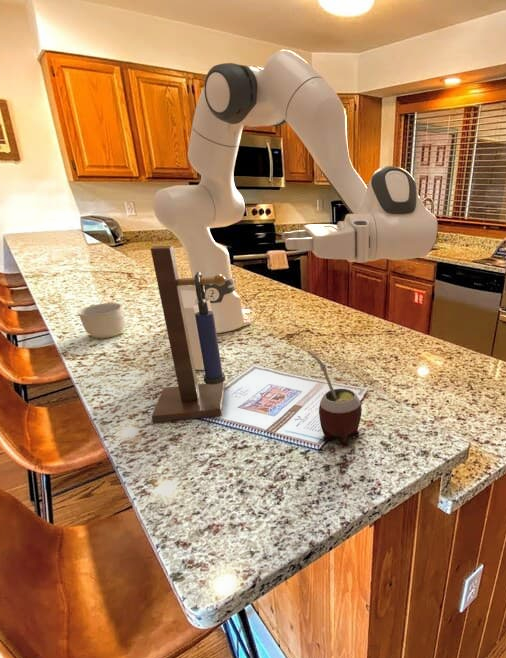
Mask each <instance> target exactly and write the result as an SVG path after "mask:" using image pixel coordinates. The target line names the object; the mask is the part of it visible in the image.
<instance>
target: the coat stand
mask: <svg viewBox="0 0 506 658" xmlns="http://www.w3.org/2000/svg"><path fill="white" fill-rule="evenodd" d="M150 252H151V253H150V254H151V258H152V263H153V269H154V272H155V278H156V282H157V288H158V293H159V298H160V303H161V308H162V313H163V318H164V322H165V323H164V324H165V327H166V333H167V338H168V342H169V346H170V351H171V356H172V361H173V367H174V371H175V377H176V382H177V386H176V385H175V386H167V387H163V388H162V391H161V393H160V396H159V397H158V400H157V402H156V405H155V407H154V410H153V412H152V415H151V419H152V420H151V421H152V423H153V424H159V423H169V422H178V421H187V420H195V419H196V420H197V419H203V418H205V419H206V418H213V417H221V416H222V415H223V407H224V401H225V394H226V393H225V392H226V384H225V381H224V382H222V383H219V384H213V385H211V384H206V383H198V378H197V370H195V366H194V360H193V355H192V349H191V344H190V338H189V333H188V327H187V322H186V316H185V311H184V305H183V300H182V294H181V289H180V286H184V285H195V278H192V277H187V278H180V277H179V273H178V267H177V261H176V256H175V252H174V246H173V245H154V246H152V247H151V248H150ZM224 283H225V277H224V276H223V275H220V274H218V275H216V276H215V277H203V278H200V285H203V284H216V285H218V286H222V285H224Z"/></svg>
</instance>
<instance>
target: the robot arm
mask: <svg viewBox="0 0 506 658" xmlns="http://www.w3.org/2000/svg"><path fill="white" fill-rule="evenodd" d="M286 124H287V125H288V126H289V127H290V128H291V129H292V130H293V132H294V133H295V134H296V135H297V137H298V138H299V140H300V141H301V142H302V144H303V145H304V146H305V148H306V150H307V151H308V152H309V154H310V155H311V157H312V159H313V161H314V162H315V164H316V166H317V167H318V169H319V171H320V172H321V174H322V175H323V177H324V178H325V180H326V182H327V184H328V185H329V187H330V188H331V189H332V190H333V191H334V193H335V194H336V195H337V196H338V198H339V200H340V201H341V203H342V204H343V205H344V207H345V208H346V209H347V211H348V212H349V213H347V214H346V215H345V217H344V220H339V221H337V223H336V224H329V223H327V224H325V223H323V224H320V223H319V224H318V223H317V224H316V223H315V224H311V223H310V224H305V225H303V227H302V229H298V230H293V231H283V232H282V234H281V238H282V239H281V241H282V242H283V243H285V248H286V250H289V251H293V250H295V251H304V252H312V253H313V255H314V256H315V257H316V258H319V259H327V260H346V261H347V262H348V263H360V264H361V263H368V262H375V261H379V260H382V259H384V260H389V261H404V260H414V259H419V258H423V257H425V256H428V255H429V254H430V253H431V251H432V250H433V248H434V247H435V244H436V242H437V238H438V234H439V222H438V218H437V217H436V216H435V214H434V213H432V212H431V211H429V210H428V209H427V207H426V206H425V205H424V203H423V201H422V199H421V197H420V195H419V192H418V190H417V184H416V182H415V179H414V177H413V176H412V175H411V174H410V172H409V171H407V170H406V169H404V168H402V167H399V166H395V165H388V166H387V165H386V166H383V167H379V168H378V169H377V170H375V172H374V173H373V174H372V176H371V178H370V180H369V182H368V185H366V184H365V182H364V181H363V179H362V178H361V176H360V175H359V173H358V172H357V171H356V169H355V168H354V165H353V164H352V163H353V162H351V157H350V153H349V145H348V130H347V128H348V127H347V126H348V125H347V124H348V123H347V114H346V109H345V107H344V104H343V103H342V100H341V99H340V97H339V95H338V93H337V92H336V91H335V90H334V88H333V87H332V85H330V84H329V82H328V81H327V80H326V79H325V78H324V77H323V76H322V75H321V74H320V72H319V71H317V70H316V69H315V68H314V67H313V66H312V65H311V64H310V63H309V62H308V61H306V60H305V59H304V58H302V57H301V56H299V55H298V54H296V53H295V52H293V51H291V50H288V49H281V50H278V51H276V52H274V53H273V54H272V55H270V56H269V58H268V59H267V60H266V62H265V64H264V66H263V67H259V66H254V65H250V66H249V65H243V64H238V63H234V62H223V63H219V64H215V65H214V66H212V67H211V68H210V69H209V70H208V72H207V73H206V75H205V79H204V85H203V87H202V89H201V92H200V94H199V98H198V99H197V103H196V106H195V110H194V114H193V119H192V125H191V132H190V137H189V143H188V148H187V149H188V150H187V158H188V162H189V164H190V165H191V167H192V168H193V170H194V171H196V173H198V174H199V175H200V181H199V183H198V184H188V185H187V184H186V185H185V184H183V185H181V184H180V185H179V184H178V185H173V186H168V187H165V188H162V189H159V190H157V192H156V193H155V195H154V198H153V202H152V208H153V214H154V216H155V218H156V219H157V221H158V222H159V224H160V225H162V227H164V228H165V229H166V230H168V231H169V232H171V233H172V234H173V235H174V236H175V237H176V238H177V239H178V241H179V242H180V244H181V245H182V247H183V250H184V251H185V254H186V257H187V262H188V265H189V271H190V276H191V278H195V275H196V273H197V272H201V275H202V278H203V277H215V276H216V275H218V274H220V275H223V276H224V277H225V283H224V285H222V286H218V285H216V284H204V290H205V296H206V297H208V298H209V299H210V304H211V311H212V312H213V313H214V320H215V327H216V333H217V334H220V333H221V334H222V333H228V332H231V331H235V330H238V329H241V328H242V327H245V326H249V325H252V320H251V319H250V317H249V316H248V315H247V313H250V312H251V310H250V309H249V308H247V309H245V308H244V307H243V303H242V297H240V295H239V294H237V293H236V283H235V279H234V277H233V274H232V267H231V266H232V265H231V259H230V253H229V251H228V249H227V248H226V247H225V246H224V245H223V244H220V243H218V242H216V241H215V240H214V238H213V235H212V233H211V229H215V228H216V229H217V228H224V227H225V228H226V227H229V226H231V225H234V224H237V223H239V222H240V221H242V220H243V217H244V214H245V211H246V206H245V200H244V198H243V196H242V194H241V192H240V191H239V190H238V189H237V187H236V185H235V180H234V173H235V172H234V171H235V166H236V160H237V156H238V152H239V147H240V143H241V139H242V133H243V129H244V128H245V127H252V128H257V127H280V126H284V125H286ZM193 286H195V285H193Z"/></svg>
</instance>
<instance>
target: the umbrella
mask: <svg viewBox="0 0 506 658" xmlns="http://www.w3.org/2000/svg"><path fill="white" fill-rule="evenodd" d="M200 278H202V275H201V272H197V273H196V275H195V286H196V295H197V298H198V308H199V312H197V313H195V318H196V324H197V330H198V336H199V341H200V347H201V353H202V359H203V365H204V370H203V371H204V375H203V382H204V384H211V385H213V384H219V383H222V382H224V383H225V381H226V380H227V379H226V374H225V372H224V371H223V366H222V362H221V355H220V347H219V340H218V333H216V327H215V320H214V313H213V312H212V311H208V305H207V302H206V301H205V290H204V284H203V285H200Z"/></svg>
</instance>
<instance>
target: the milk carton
mask: <svg viewBox="0 0 506 658" xmlns="http://www.w3.org/2000/svg"><path fill="white" fill-rule="evenodd" d="M180 289H181V294H182V300H183V305H184V311H185V316H186V322H187V327H188V333H189V338H190V344H191V349H192V355H193V360H194V366H195V371H205V370H204V365H203V359H202V353H201V347H200V341H199V336H198V330H197V324H196V318H195V313H197V312H199V308H198V298H197V295H196V286H193V285H184V286H180ZM205 301H206V302H207V305H208V311H211V304H210V299H209V298H208V297H206V296H205Z"/></svg>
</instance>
